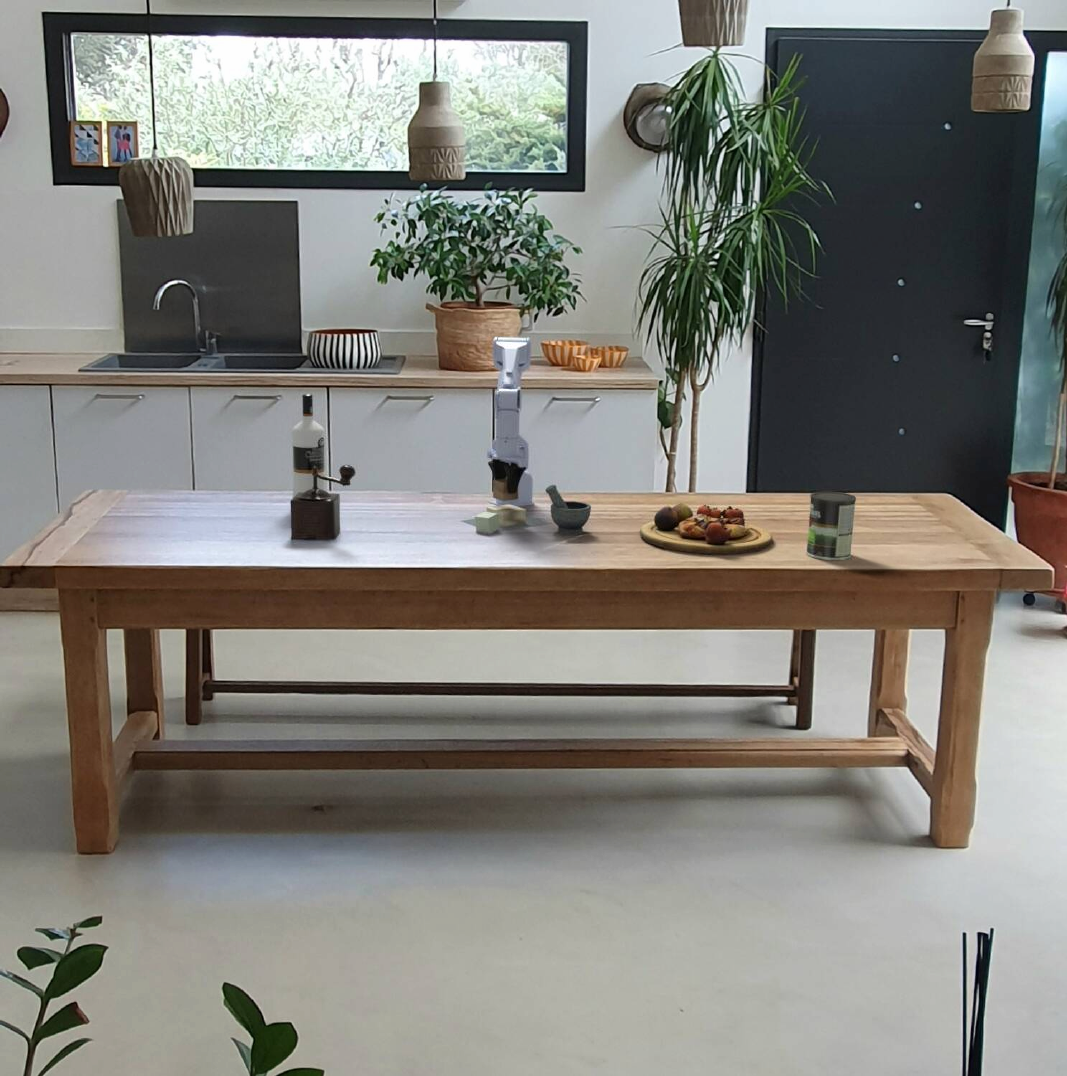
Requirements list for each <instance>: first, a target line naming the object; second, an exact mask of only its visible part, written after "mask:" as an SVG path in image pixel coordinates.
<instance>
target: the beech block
mask: <svg viewBox="0 0 1067 1076" xmlns="http://www.w3.org/2000/svg"><path fill="white" fill-rule="evenodd" d="M486 512H490V513H498V522H499V525H500V526H502V527H503V526H510V525H517V524H523V523H526V515H527V509H526V508H522V507H521V506H518V507H517V506H514V505H510V504H508V505H500V506H497V505H493V506H488V507H486Z"/></svg>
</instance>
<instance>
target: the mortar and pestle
mask: <svg viewBox="0 0 1067 1076" xmlns="http://www.w3.org/2000/svg"><path fill="white" fill-rule="evenodd" d="M545 493H547V494H548V497H549V499H550V500H551V504H550V517H551V518H552V521H553V523H554V524H555V525H556V526H557V533H559V534H561V535H567V536H572V535H573V536H575V535H582V533H583V532H584V531H583V530H584V529H583V527H584V526H585V525H587V522H588V520H589V519H590V516H591V511H592V510H591V509H592V505H590V504H589V503H587V502H583V501H576V500H575V501H574V500H572V501H571V500H568V501H567V500H566V501H564V499H563V497H562V496H561V494H560V492H559V491H558V489H557V486H556V484H550V485H549V486H547V487H546V489H545Z"/></svg>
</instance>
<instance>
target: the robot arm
mask: <svg viewBox="0 0 1067 1076" xmlns="http://www.w3.org/2000/svg"><path fill="white" fill-rule="evenodd" d="M492 340H493V341H492V359H493V365H494V368H495V369H496V370H497V371H499V372H500V373H498V376H497V386H496V387H497V388H496V390H494V411H495V419H496V421H495V439H493V441H492V442H491V449H489V450H486V451H487V455H486V456H487V457H486V458H487V459H490V461H488V462H487V465H488V466H489V468H490V470H491V472H492V477H493V480H497V479H505V478H507V486H508V493H510V494H511V493H517V489H518V499H515V500H508V501H501V500H498V499H496V498H495V499H494V500H489V501H488V503H489V504H492V505H493V506H500V505H508V504H510V505H514V506H517V507H525V506H530V505H531V506H532V505H535V502H533V494H534V493H533V491H534V490H533V488H534V487H533V486H534V482H533V477H532V474H531V472H529V470H528V469H529V456H530V455H529V453H530V452H529V450H530V449H529V442H528V441H527V439H526V438H524V437H523V436H522V435H520V412H521V410H522V403H523V402H522V397H523V395H522V394H523V393H522V389H521V385H522V374H523V373H525V372H526V371H528V370H529V369H530V366H531V360H532V359H531V357H532V351H531V350H532V339H531V338H530V337H501V336H495V337H494V338H493V339H492Z"/></svg>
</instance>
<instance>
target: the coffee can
mask: <svg viewBox="0 0 1067 1076" xmlns="http://www.w3.org/2000/svg"><path fill="white" fill-rule="evenodd" d="M856 501H857V497H856V496H855V495H853V494H850V493H847V492H846V493H845V492H841V491H815V492H812V493H811V494H810V506H809V517H808V518H809V520H808V531H807V546H806V552H805V553H806V555H807V556H809V557H811V558H814V559H817V560H823V561H832V562H834V561H835V562H836V561H845V560H849V559H850V558H851V557H852V556H851V553H852V544H853V543H852V541H853V530H854V519H855V509H856Z"/></svg>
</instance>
